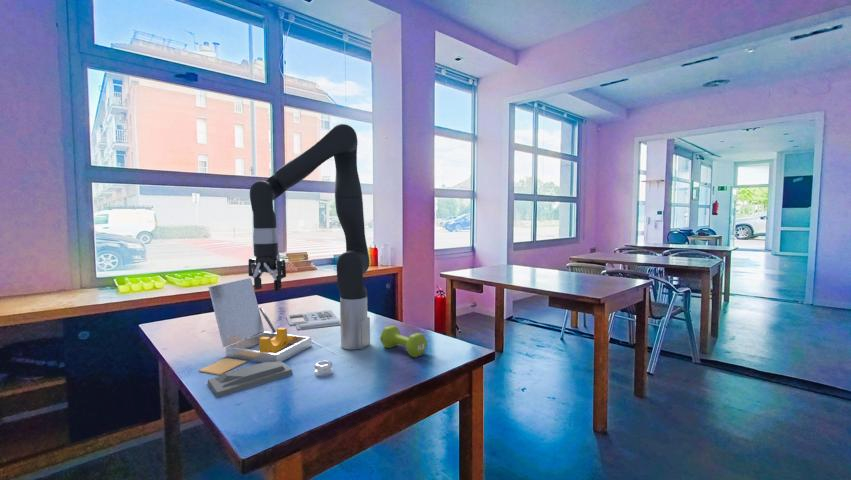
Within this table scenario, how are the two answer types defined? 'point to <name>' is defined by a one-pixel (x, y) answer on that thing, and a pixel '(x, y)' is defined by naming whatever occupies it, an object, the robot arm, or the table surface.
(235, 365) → the tan rectangular plate
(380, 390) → the table surface
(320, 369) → the metal grooved wheel
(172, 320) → the table surface
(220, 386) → the grey bevelled block
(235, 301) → the lid
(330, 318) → the office telephone
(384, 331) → the dumbbell
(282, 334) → the yellow curved stepped piece
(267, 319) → the rod
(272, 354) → the case
